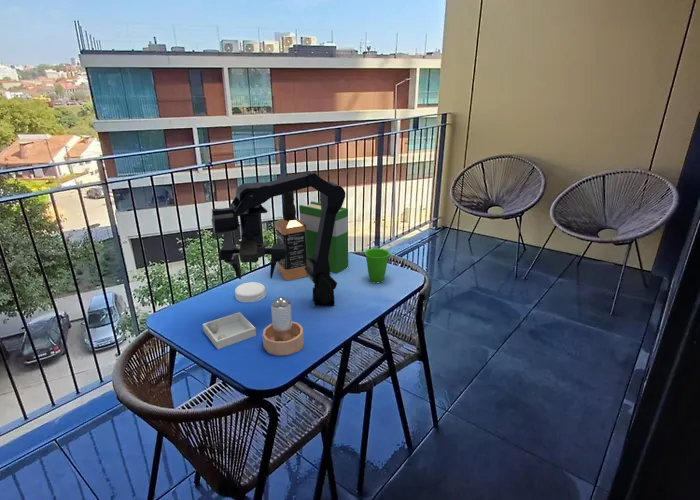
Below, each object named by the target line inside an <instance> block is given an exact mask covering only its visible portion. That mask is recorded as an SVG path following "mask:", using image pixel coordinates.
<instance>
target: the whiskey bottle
mask: <svg viewBox="0 0 700 500" xmlns="http://www.w3.org/2000/svg"><path fill="white" fill-rule="evenodd" d="M294 195H295V194H294V191H292V192H289V193H285V194H282V197H283V206H282V215H283V217H282V218H281V219H280V220H278V221H275V223H274V229H276V244H285V245H286V247H287V253H286V257H285V258H284V259H281V261H278V262H277V263H276V272H277V273H278V274H279V276H280V277H281V278H282V279H283V280H284V281H292V280H296V279H301V278H306V277H308V276H307V274H306V270H305V269H304V268H305V267H306V259H307V249H306V235H305V231H306V225H305V224H304V223H303V222H301V221H300V218H299V219H298V218H297V209H296V205H295V196H294Z"/></svg>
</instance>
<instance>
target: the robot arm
mask: <svg viewBox="0 0 700 500" xmlns="http://www.w3.org/2000/svg"><path fill="white" fill-rule="evenodd" d="M311 187H312V188H313V189H315V190H316V191H318V192H319V203H320V204H321V217H320V223H319V228H318V234H317V240H316V245H315V251H314V255H313V256H312V257H311V259H310V258H307V259H306V267H305V268H304V269H305V270H306V274H307V276H306V277H308V278H309V279H310V280H311V282H312V283H313V284H314V285H313V286H314V287H312V303H314V304H313V305H314V307H333V306H335V294H334V293H335V291H334V290H336V288H337V285H338V281H336V280H335V279H334V278H333V277H332V275H331V272H330V265H329V260H328V256H329V251H330V246H331V240H332V235H333V230H334V224H335V219H336V215H337V213H338V211H339V210H340V209H341V207H343V204H344V201H345V199H346V190H345V189H344V187H342V186H340V185H339V184H337V183H335V182H333V181H327V180H325V179H323V178H322V177H320V176H319V175H318V174H316V173H315V172H313V171H311V170H306V171H304V172H301V173H298V174H293V175H290V176H287V177H286V176H285V177H283V178H278V179H275V180H274V179H273V180H272V181H271V180H270V181H267V182H266V181H265V182H245V183H241V184H240V185H238V186H237V189H236V191H235V196H234V198H233V200H232V201H231V203H230V204H229V207H225V208H212V209H211V224H212V229H213V234H214V235H218V234H226V233H232V232H233V233H235V232H236V231H237V230H238V228H239V227H240V233H241V235H240V236H241V238H240V239H241V240H240V244H239V245H240V247H237V244H223V245H222V246H221V248H220V249H219V251H218V259H219V260H220V261H224V263H228V264H229V265H230V266H231V267H232V268H233V270H234V271H235V274H236V275H237V278H238V279H239V280H242V270H241V269H242V268H241V263H243V264H245V263H254V264H255V263H258V262H259V258H260V259H261V258H264V257H265V256H266V255H270V257H271V258H270V268H269V269H270V270H269V271H270V272H269V276H270V279H273V276H274V272H275V268H276V267H277V262H278V261H281V259H284V258H285V257H286V253H287V247H286V245H285V244H277V243H272V245H271V247H266V245H265V244H264V241H263V232H262V231H263V229H262V219H261V217H262V216H261V214H267V213H268V209H266V208H265V207H264V206H263V205H262V204H265V203H266V202H267V201H269V200H270V199H272V198H274V197H277V196H281V195H282V196H283V194H285V193H289V192H292V191H293V192H296V191H299V190H302V189H306V188H311ZM240 262H241V263H240Z"/></svg>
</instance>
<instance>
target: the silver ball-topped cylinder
mask: <svg viewBox="0 0 700 500" xmlns="http://www.w3.org/2000/svg"><path fill="white" fill-rule="evenodd" d="M270 309H271V311H270V312H271V320H272V321H271V322H272V323H273V334H274V341H288V340H291V339H293V327H292V322H293V315H292V303H291V301H290V300H287V299H286V298H285V297H283V296H280V297H278V298H277V299H275V300H274V301H272V302H271V304H270ZM272 323H271V324H272Z"/></svg>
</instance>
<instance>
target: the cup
mask: <svg viewBox="0 0 700 500" xmlns="http://www.w3.org/2000/svg"><path fill="white" fill-rule="evenodd" d="M364 255H365V260H366V264H367V265H366V266H367V272H368V279H369V281H370V282H371V283H372V282H375V283H374V284H378V283H377V282H382V281H383V280H385V275H386V272H387V271H386V270H387V266H388V261H389V256H391V253H390V251H389V250H388V249H386V248H380V247H379V248H378V247H377V248H374V247H373V248H368V249H366V250H365V251H364ZM383 282H384V281H383ZM383 282H382V283H383Z"/></svg>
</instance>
